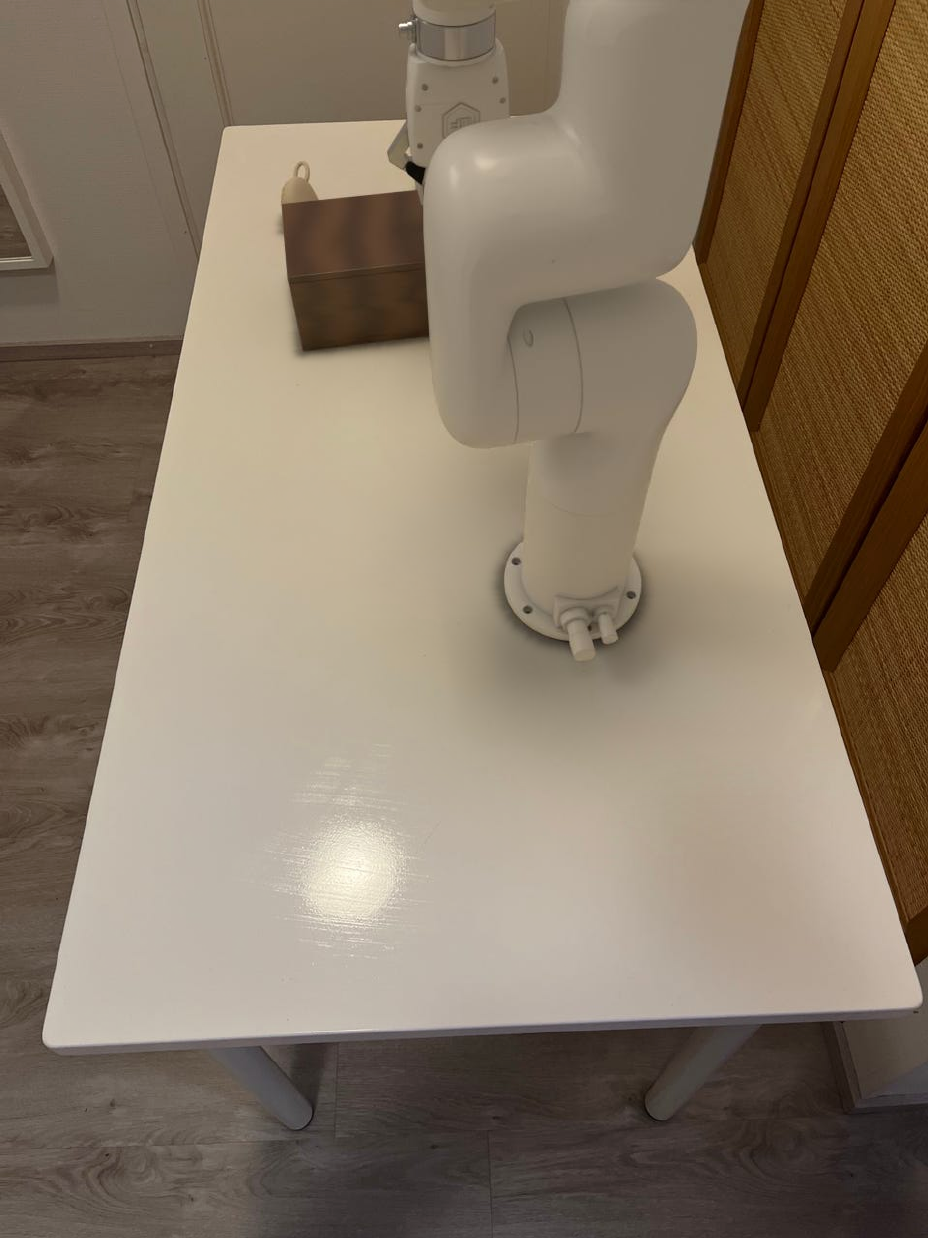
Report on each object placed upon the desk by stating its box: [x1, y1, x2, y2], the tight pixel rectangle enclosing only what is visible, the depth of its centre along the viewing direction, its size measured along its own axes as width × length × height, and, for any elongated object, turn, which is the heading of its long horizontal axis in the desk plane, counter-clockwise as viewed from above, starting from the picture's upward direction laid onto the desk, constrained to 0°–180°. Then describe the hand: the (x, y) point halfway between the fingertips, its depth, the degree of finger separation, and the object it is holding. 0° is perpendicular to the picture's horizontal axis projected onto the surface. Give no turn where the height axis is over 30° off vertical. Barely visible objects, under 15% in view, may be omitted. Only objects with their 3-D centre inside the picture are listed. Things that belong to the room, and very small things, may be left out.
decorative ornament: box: [280, 160, 319, 207], centre depth 111 cm, size 4×8×5 cm, turn 166°
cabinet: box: [281, 189, 430, 351], centre depth 100 cm, size 16×14×10 cm
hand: (459, 214), depth 96 cm, fingers closed on figurine, 4 cm apart
